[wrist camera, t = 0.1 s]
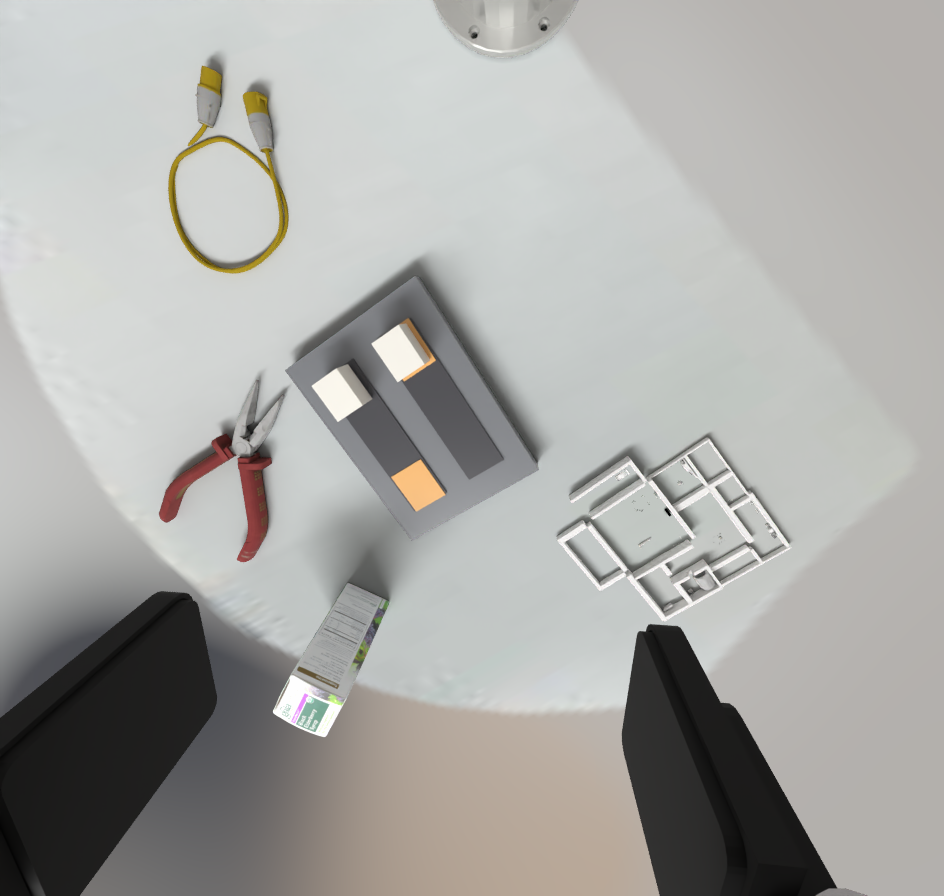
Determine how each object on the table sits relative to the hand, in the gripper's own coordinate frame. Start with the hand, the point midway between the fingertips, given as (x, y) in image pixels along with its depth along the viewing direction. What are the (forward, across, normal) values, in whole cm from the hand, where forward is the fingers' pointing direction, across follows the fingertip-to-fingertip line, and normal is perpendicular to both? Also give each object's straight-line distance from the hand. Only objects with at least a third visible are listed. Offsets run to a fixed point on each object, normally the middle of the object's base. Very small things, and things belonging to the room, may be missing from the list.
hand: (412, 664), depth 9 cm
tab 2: (+35, +8, -3) cm, 36 cm away
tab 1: (+35, +14, +1) cm, 37 cm away
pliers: (+38, +27, +12) cm, 48 cm away
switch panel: (+37, +8, +4) cm, 38 cm away
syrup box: (+38, +15, +28) cm, 49 cm away
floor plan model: (+38, -17, +18) cm, 45 cm away
